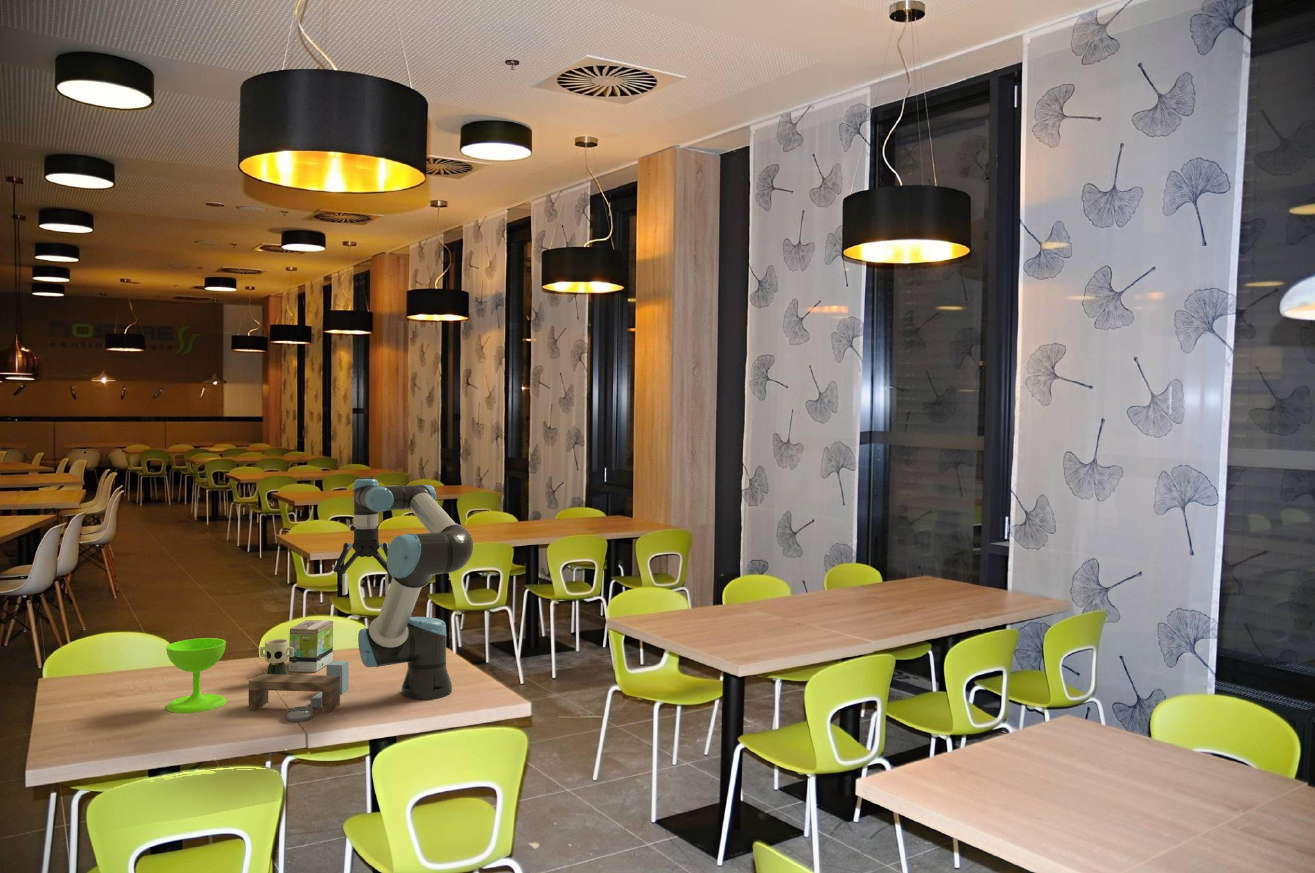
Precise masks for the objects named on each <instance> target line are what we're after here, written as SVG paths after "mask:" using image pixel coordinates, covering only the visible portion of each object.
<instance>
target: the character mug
mask: <svg viewBox="0 0 1315 873" xmlns="http://www.w3.org/2000/svg"><path fill="white" fill-rule="evenodd" d="M289 641H290V640H288V639H283V638H279V639H278V638H277V639H271V640H267V641H265V643H264V646H260V648H259V656H260V657H261V658H264V659H265V662H267V663H269V664H268V665H267V670H266V671H267V673H266V674H283V675H288V672H287V665H286V662H287V661H289V657H293V656H294V648H293V647H289ZM289 650H291V654H289Z"/></svg>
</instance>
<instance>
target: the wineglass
mask: <svg viewBox="0 0 1315 873" xmlns="http://www.w3.org/2000/svg"><path fill="white" fill-rule="evenodd" d="M226 644H227V641H226V640H225V639H222V638H216V637H215V638H214V637H205V638H203V637H201V638H191V639H184V640H183V639H182V640H179V641H176V642H172V643H169V644H167V646H166V647H165V649H166V654H167V657H168V659H169V660H170V661H169V662H171V663H172V664H173V665H174V666H175V667H176V668H178V669H179V670H182V671H183V672H184V671H185V672H189V673H192V693H191V695H186V696H182V697H178V698H176V699H174V700H172V701H170V702H169V703H168V704H167V706H166V710H167V711H169V712H170V713H176V714H193V713H194V714H195V713H201V712H206V711H210V710H214V709H218V708H220V707H223V706H224V705H225V704H226V703H227V699H226V698H225V697H223V696H222V695H220V694H213V693H205V694H203V693H202V692H201V672H203V671H205V670H208V669H211V668H212V667H213V666H214V665H216V664H218V662H219V661H220V660H221V658H222V657H223V655H224V653H225V650H226Z"/></svg>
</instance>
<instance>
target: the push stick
mask: <svg viewBox="0 0 1315 873" xmlns="http://www.w3.org/2000/svg"><path fill="white" fill-rule="evenodd" d="M349 663H350V662H349V660H333V661H332V662H330V663H329V664H327V665H325V666H326V668H325V670H326V675H325V676H340V695H344V694H345V693H346V692H348V691H349V689H350V688H349V686H350V685H349V674H350V673H349ZM310 707H312V708H322V692H317V693H316V694H315V695H313V696H312V697H310Z"/></svg>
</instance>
